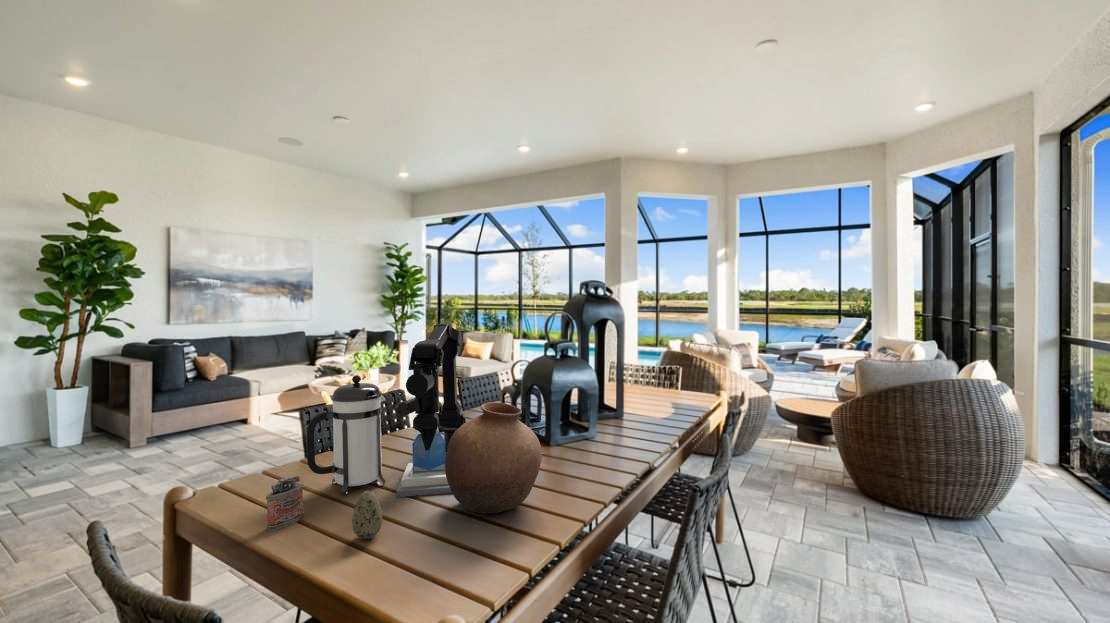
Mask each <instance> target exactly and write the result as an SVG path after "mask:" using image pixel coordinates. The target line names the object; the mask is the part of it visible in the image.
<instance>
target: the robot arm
mask: <svg viewBox="0 0 1110 623" xmlns="http://www.w3.org/2000/svg"><path fill="white" fill-rule="evenodd" d="M462 345H463V337H462V334H461V333H460V331H459V330H458V329H456V328H454V327H452V324H449V323H435V324H433V329H432V331H431V332H430V334H428V336H427V337H426V339H425V340H420V341H418V342H417V343H415V344H414V347H412V349H411V354H410V359H409V364H408V371H413V372H412V373H413V374H411V375H410V376H409V377H407V379H406V382H405V389H406V390H407V391H406V392H408V393H409V394H410V395H411V396H414V397H413V398H409V399H407V400H403V401H402V402H399V403H398V404H397V405H396V406H395V413H396V414H397V416H398V418H399V419H402V418H404V417H406V416H408V415H410V414H413V413H414V414H415V416H414V418H413V420H412V428H413V429H414V431H415V430H416V431H418V433H419V434H421V436H422V440H423V443H424V447H425V450H430V447H431V445H432V442H433V439H434V436H435V433H436V432H438V433H440V434H441V433H443V439H444V440H445V453H446V452H447V447H448V444H449V441H450V439H451V437H452V435H453V434H454V433H455V431H456V430H457V429H458V428H459V427H461V426H462V425H463V424H464V423H466V422H467V418H466V417H465V413H464V412H463V410H464V409H463V407H462V405H461V404H460V402H459V401H458V386H457V385H458V383H457V357H458V355H459V353H460V351H461V347H462ZM440 367H441V369H442V370H441V371H442V372H441V373H442V396H443V397H442V400H443V402H440V389H439V388H440V387H439V384H440V383H439V369H440ZM442 403H443V404H442ZM437 430H438V431H437Z"/></svg>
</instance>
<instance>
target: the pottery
mask: <svg viewBox="0 0 1110 623" xmlns="http://www.w3.org/2000/svg"><path fill="white" fill-rule="evenodd" d="M480 409H481V412H483V413H482V414H480V415H477V416H475V417H473V418H471V419H469V420H466V423H464V424H463V425H462V426H461V427H459V428H458V429H457V430H456V431H455V433H454V434H453V435H452V437H451V439H450V441H449V444H448V447H447V452H445V455H446V457H445V473H446V478H447V481H448V484H449V487H450V489H451V492H452V493H451V494H452V496H454V498H455V500H456V501H457V502H458V503H459V504H460V505H461V506H463V507H465V508H467V509H468V510H470V511H472V512H475V513H479V514H498V513H501V512H505V511H509V510H512V509H514V508H516V507H518V506H520V505H521V504H523V502H525V500H526V499H528V496H529V495H530V493H531V491H532V490H533V486H534V484H535V482H536V480H537V478H538V476H539V473H540V470H541V464H542V457H543V454H542V453H543V452H542V445H541V443H540V440H539V438H538V437H537V434H536V433H535V432H534V431H533V430H532V429H531V428H530V427H529V426H528V425H526V424H525V423H524V422H522V421H520V420H519V419H518V417H520V416H521V414H522V409H521V408H519V407H517V406H515V405H511V404H508V403H502V402H494V401H493V402H492V401H491V402H490V401H489V402H487V403H486V402H485V403H483V404H481V406H480Z"/></svg>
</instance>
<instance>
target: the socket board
mask: <svg viewBox="0 0 1110 623" xmlns="http://www.w3.org/2000/svg"><path fill="white" fill-rule="evenodd" d="M442 494H452V492H451V489H450V487H449V484H448V481H447V478H446V473H445V464H443V465H441V466H438V467H436V468H433V469H431V470H426V469H422V468H418V467H414V466H413V462H408V463H407V465H406V467H405V470H404V472H403V474H402V476H401V479H400V481H399V483H398V485H397V488H396V490H395V497H396V498H403V497H415V496H416V495H418V496H429V495H442Z"/></svg>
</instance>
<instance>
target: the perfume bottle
mask: <svg viewBox="0 0 1110 623" xmlns="http://www.w3.org/2000/svg"><path fill="white" fill-rule="evenodd" d="M445 457H446V452H445V440H444V436H442V435H441V432H440V433H439V432H438V431H436V433H435V436H434V439H433V442H432V445H431V447H430V450H425V447H424V443H423V440H422V436H421V433H418V434H417V435H416V437H415V439H414V440H413V442H412V463H413V466H414V467H418V468H422V469H426V470H431V469H433V468H436V467H438V466H441V465H443V464H445Z"/></svg>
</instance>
